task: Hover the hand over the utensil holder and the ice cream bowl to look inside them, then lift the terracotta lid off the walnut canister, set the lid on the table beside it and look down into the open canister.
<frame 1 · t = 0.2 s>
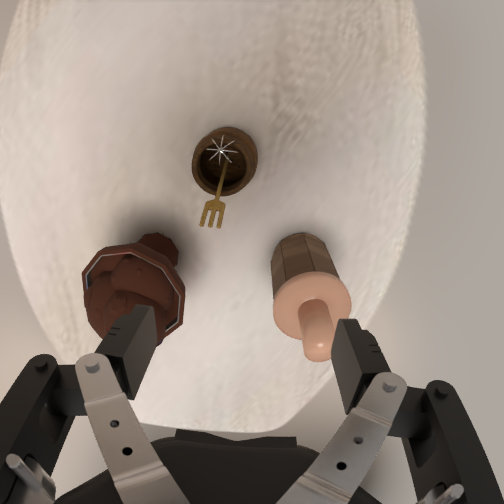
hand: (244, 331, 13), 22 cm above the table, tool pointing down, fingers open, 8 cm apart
canister: (300, 258, 36), on the table
lid: (311, 304, 28), point 9 cm above the table, touching canister
ice cream bowl: (157, 253, 37), on the table
utensil holder: (228, 155, 31), on the table
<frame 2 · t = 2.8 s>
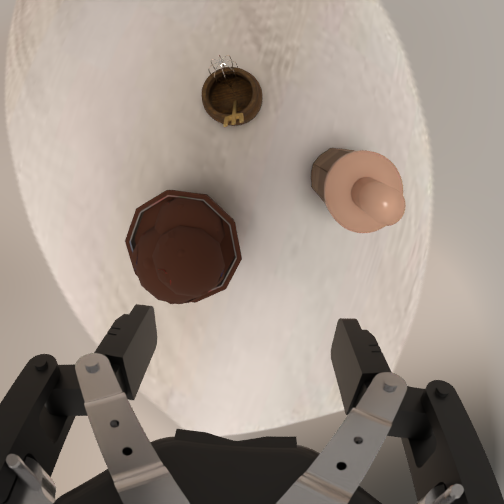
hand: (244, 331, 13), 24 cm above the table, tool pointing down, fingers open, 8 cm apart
canister: (338, 176, 34), on the table
lid: (362, 190, 26), point 9 cm above the table, touching canister
ice cream bowl: (199, 220, 37), on the table
utensil holder: (235, 101, 32), on the table
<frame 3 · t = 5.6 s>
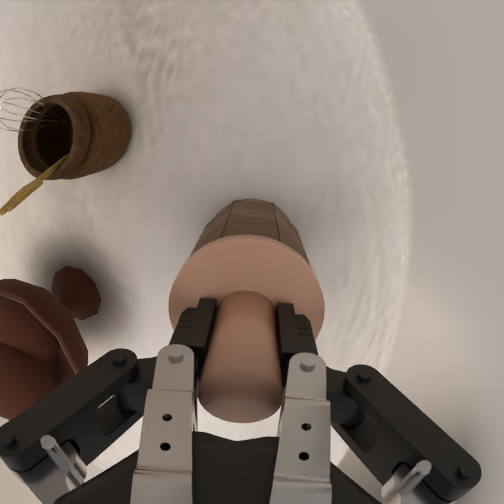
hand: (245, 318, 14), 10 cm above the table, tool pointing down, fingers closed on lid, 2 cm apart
canister: (251, 242, 23), on the table
lid: (246, 305, 15), point 9 cm above the table, touching canister, gripper
ice cream bowl: (76, 292, 26), on the table
utensil holder: (100, 134, 21), on the table
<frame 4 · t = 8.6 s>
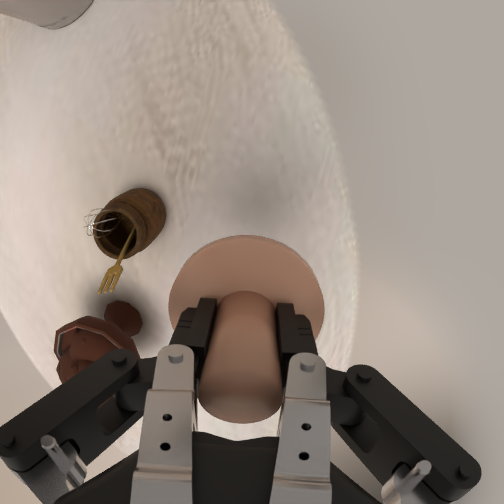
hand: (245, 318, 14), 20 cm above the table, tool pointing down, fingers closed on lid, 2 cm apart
lid: (246, 306, 15), point 18 cm above the table, touching gripper
ice cream bowl: (123, 317, 38), on the table
utensil holder: (142, 214, 33), on the table
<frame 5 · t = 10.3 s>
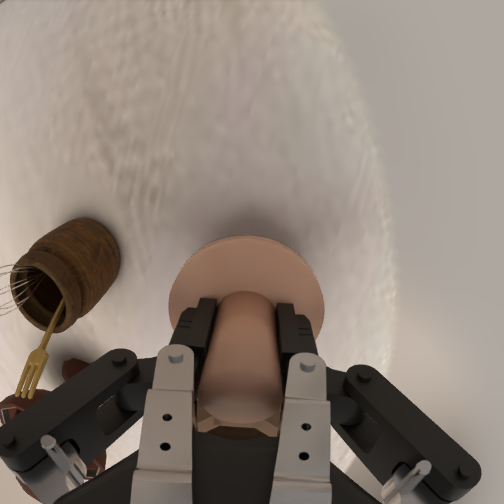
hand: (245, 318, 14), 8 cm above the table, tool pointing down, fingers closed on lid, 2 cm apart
canister: (242, 355, 24), on the table
lid: (246, 306, 15), point 7 cm above the table, touching gripper
ice cream bowl: (85, 377, 27), on the table
utensil holder: (90, 254, 22), on the table
when the fingers open (3 cm above the table, at t = 11.8 s): lid drops 2 cm, on the table.
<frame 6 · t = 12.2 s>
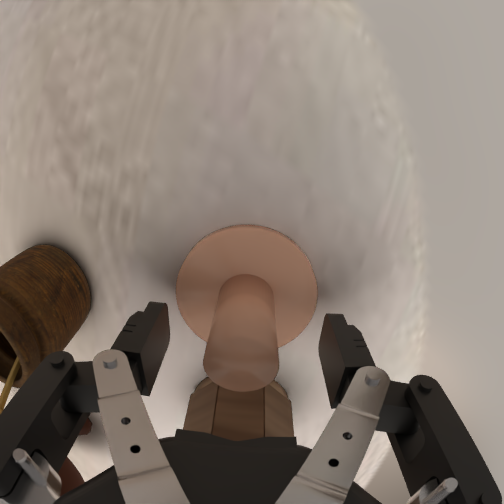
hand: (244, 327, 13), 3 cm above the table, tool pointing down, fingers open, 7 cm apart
canister: (240, 403, 20), on the table
lid: (246, 289, 17), on the table
ice cream bowl: (67, 412, 22), on the table
utensil holder: (58, 285, 17), on the table
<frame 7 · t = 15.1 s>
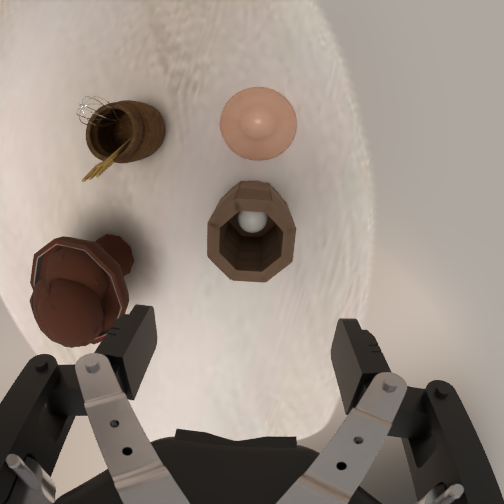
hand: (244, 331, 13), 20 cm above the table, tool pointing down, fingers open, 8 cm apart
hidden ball: (252, 214, 31), point 1 cm above the table, touching canister
canister: (253, 212, 32), on the table
lid: (258, 123, 29), on the table
ice cream bowl: (113, 255, 34), on the table
utensil holder: (140, 132, 29), on the table
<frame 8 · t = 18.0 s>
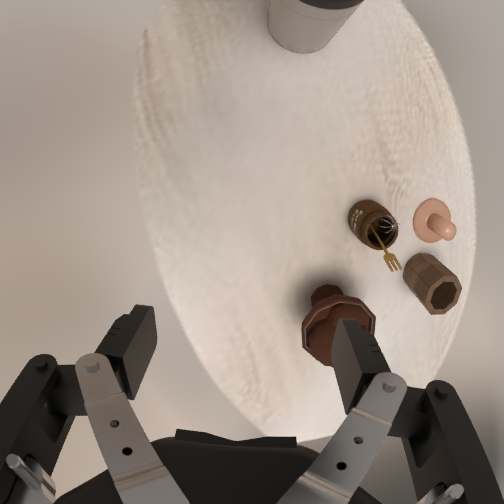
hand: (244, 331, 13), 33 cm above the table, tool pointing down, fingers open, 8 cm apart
canister: (419, 270, 48), on the table
lid: (430, 220, 45), on the table
ice cream bowl: (327, 298, 50), on the table
utensil holder: (365, 218, 45), on the table
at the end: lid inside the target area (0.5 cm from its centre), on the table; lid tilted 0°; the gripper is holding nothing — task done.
